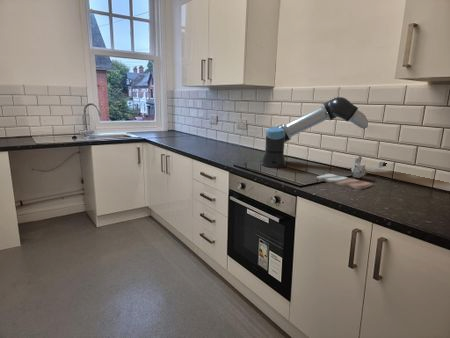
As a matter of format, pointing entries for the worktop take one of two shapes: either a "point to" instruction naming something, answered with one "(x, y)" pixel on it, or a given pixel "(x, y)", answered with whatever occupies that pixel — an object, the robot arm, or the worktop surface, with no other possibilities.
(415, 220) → the worktop surface
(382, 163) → the robot arm
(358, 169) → the game die
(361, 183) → the game board
